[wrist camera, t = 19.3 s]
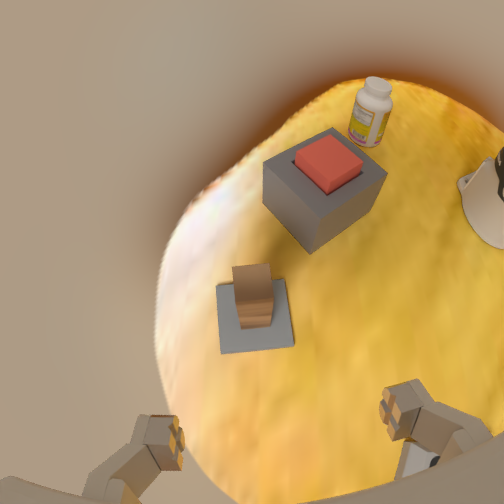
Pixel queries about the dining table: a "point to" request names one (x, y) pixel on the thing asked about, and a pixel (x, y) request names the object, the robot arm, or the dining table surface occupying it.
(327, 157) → the button
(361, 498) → the robot arm
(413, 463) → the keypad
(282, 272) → the dining table surface
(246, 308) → the brown wooden block
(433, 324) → the dining table surface
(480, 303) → the dining table surface
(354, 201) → the gray socket block
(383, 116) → the supplement bottle
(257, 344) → the pad
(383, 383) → the dining table surface
